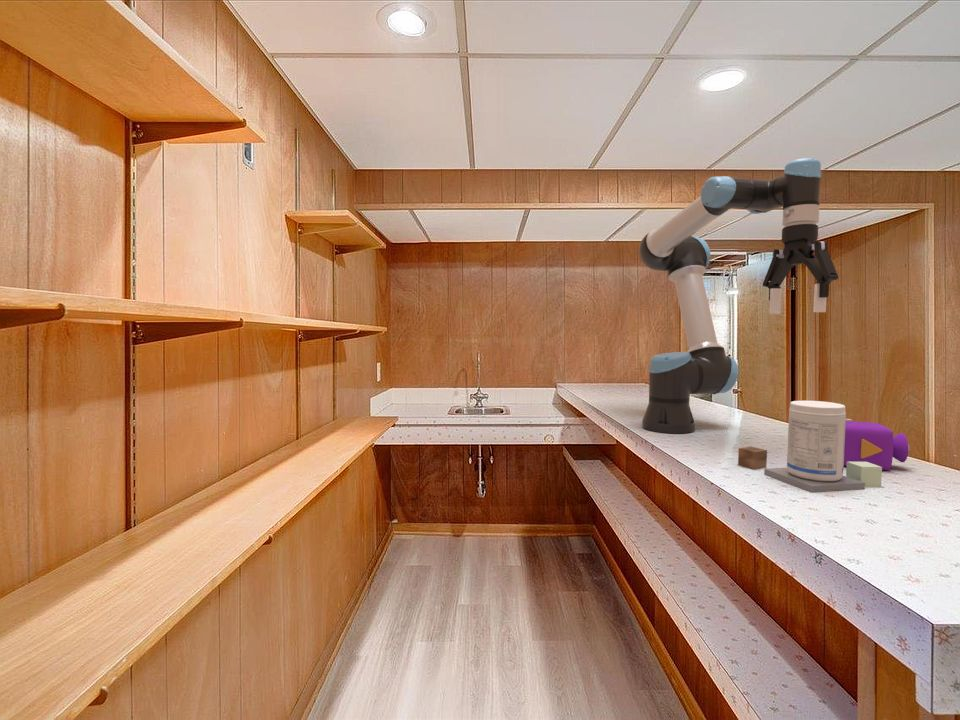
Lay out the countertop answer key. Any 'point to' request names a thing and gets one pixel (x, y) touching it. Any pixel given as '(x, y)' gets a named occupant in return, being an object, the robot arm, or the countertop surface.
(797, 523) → the countertop surface
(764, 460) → the walnut block
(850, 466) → the pale green cube
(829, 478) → the supplement tub
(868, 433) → the toy camera
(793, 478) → the slate coaster
